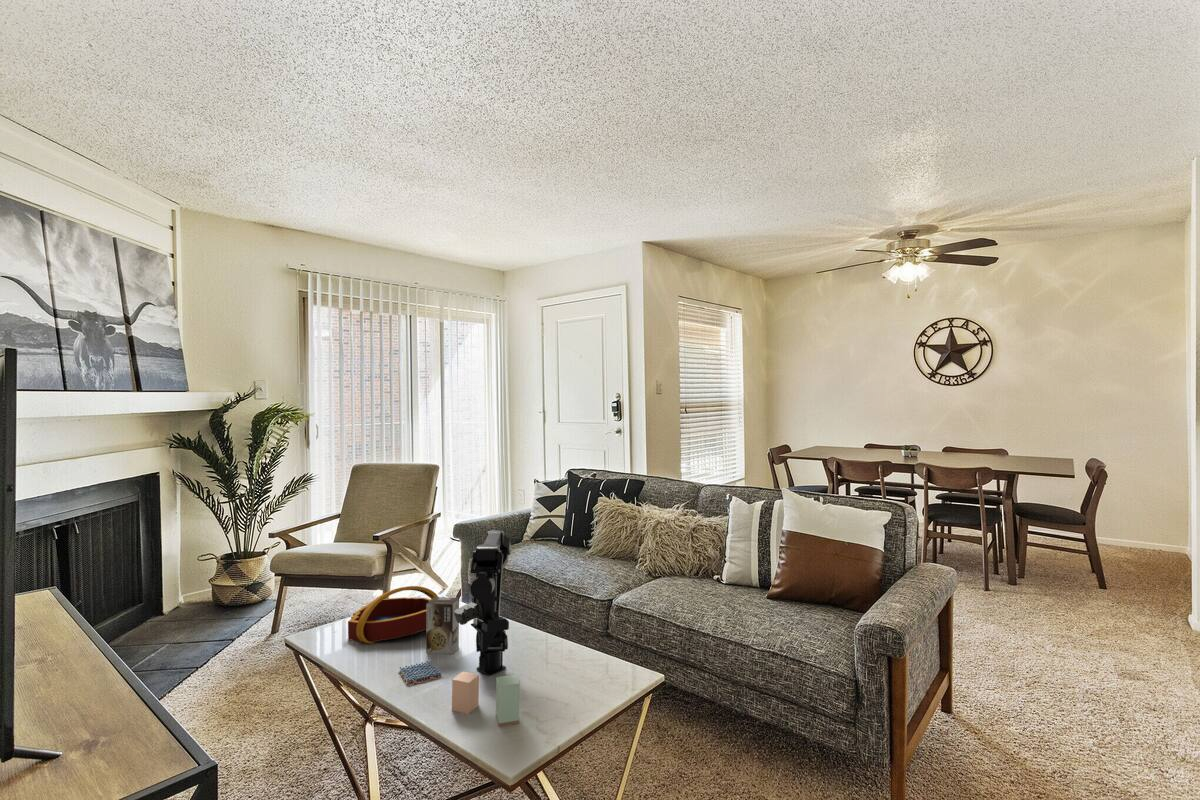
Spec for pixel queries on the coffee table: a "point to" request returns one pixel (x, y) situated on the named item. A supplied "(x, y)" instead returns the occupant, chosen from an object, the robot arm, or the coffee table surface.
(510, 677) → the sage block
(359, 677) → the coffee table surface
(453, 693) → the terracotta block
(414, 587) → the decorative basket
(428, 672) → the woven mat
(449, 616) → the coffee box
